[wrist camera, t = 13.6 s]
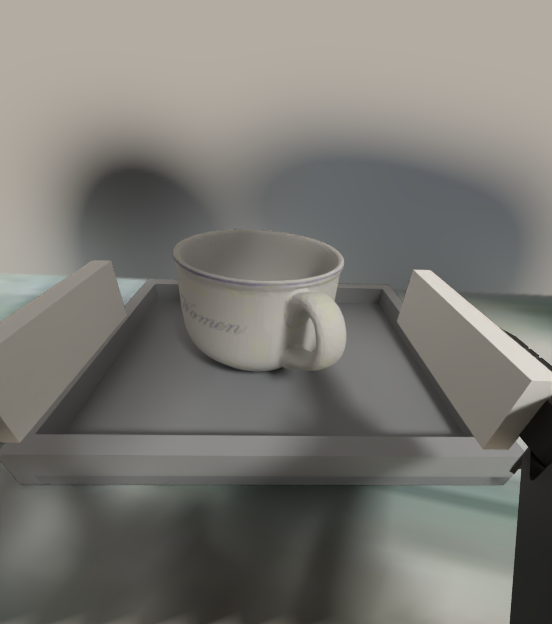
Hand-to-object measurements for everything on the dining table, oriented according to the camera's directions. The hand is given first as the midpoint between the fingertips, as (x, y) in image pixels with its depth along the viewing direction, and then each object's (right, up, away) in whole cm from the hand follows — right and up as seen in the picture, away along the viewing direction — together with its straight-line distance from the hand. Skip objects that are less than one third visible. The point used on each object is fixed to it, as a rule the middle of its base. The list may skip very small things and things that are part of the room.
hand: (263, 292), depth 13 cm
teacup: (0, -4, +8) cm, 9 cm away
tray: (0, -5, +9) cm, 10 cm away
